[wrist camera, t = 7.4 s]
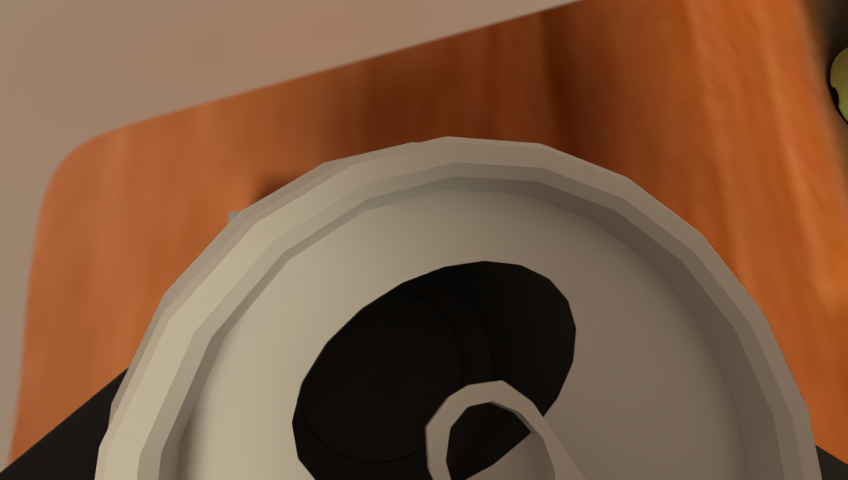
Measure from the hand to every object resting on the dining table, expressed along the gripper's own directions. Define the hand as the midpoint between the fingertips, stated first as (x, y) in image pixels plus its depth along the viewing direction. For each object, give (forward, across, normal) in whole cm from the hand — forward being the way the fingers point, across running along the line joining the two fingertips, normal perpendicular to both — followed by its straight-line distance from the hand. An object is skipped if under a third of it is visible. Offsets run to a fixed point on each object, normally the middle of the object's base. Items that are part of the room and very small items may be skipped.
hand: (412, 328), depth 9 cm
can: (+4, 0, +6) cm, 7 cm away
